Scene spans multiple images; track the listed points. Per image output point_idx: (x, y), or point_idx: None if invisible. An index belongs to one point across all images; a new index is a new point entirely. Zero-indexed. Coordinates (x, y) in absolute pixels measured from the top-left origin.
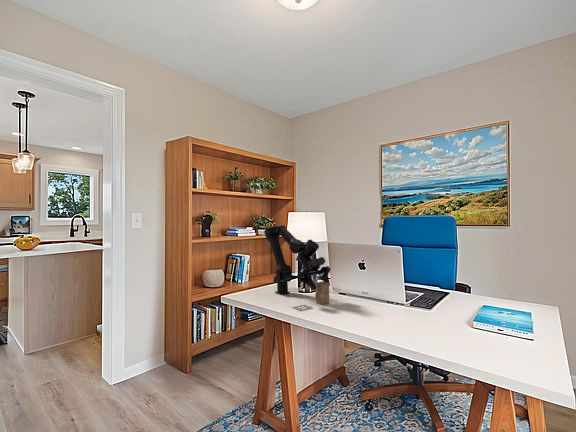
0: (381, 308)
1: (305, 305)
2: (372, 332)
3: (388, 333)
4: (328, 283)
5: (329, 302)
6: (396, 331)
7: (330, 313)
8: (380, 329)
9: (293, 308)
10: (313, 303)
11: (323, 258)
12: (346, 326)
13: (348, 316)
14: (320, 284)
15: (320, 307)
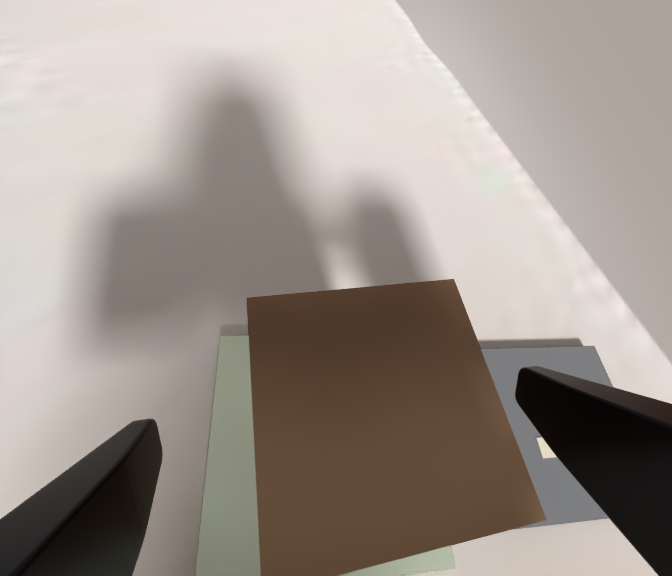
0: (43, 128)
1: None
2: (380, 36)
3: (341, 13)
4: (266, 300)
5: (237, 430)
6: (304, 7)
7: (397, 233)
8: (336, 33)
9: None
10: None
11: None
12: (429, 97)
13: (338, 152)
14: (467, 333)
15: None
